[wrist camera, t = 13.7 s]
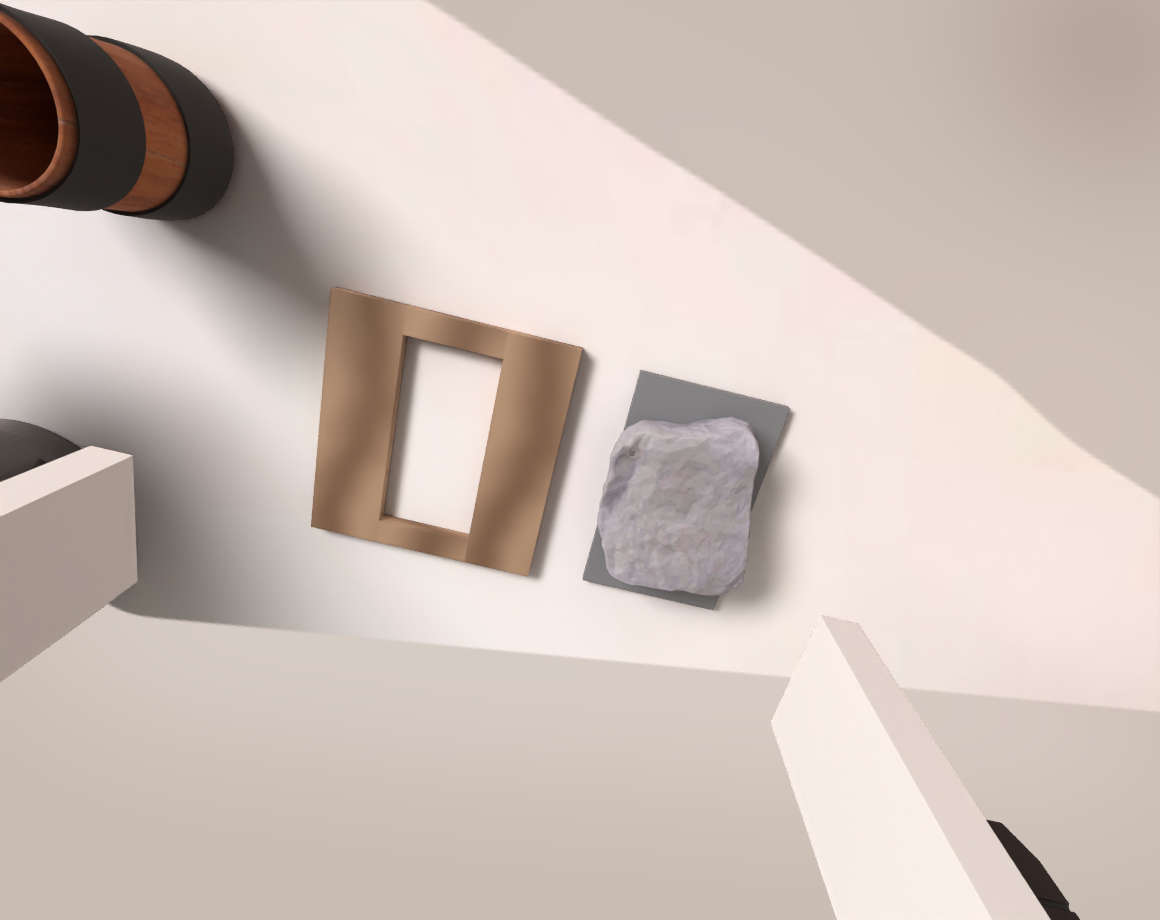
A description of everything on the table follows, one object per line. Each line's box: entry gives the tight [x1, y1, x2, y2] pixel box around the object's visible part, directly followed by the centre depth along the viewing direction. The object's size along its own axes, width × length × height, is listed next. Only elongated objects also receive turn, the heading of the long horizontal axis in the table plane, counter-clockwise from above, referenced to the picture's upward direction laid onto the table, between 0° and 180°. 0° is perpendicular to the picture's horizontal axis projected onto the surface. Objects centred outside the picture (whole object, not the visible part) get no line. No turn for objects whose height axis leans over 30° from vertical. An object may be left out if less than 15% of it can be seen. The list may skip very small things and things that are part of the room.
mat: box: [583, 370, 790, 610], centre depth 41 cm, size 10×16×1 cm, turn 166°
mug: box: [0, 3, 233, 220], centre depth 29 cm, size 9×12×12 cm
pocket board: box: [311, 287, 583, 576], centre depth 40 cm, size 16×17×1 cm
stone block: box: [597, 417, 759, 596], centre depth 40 cm, size 12×5×10 cm
